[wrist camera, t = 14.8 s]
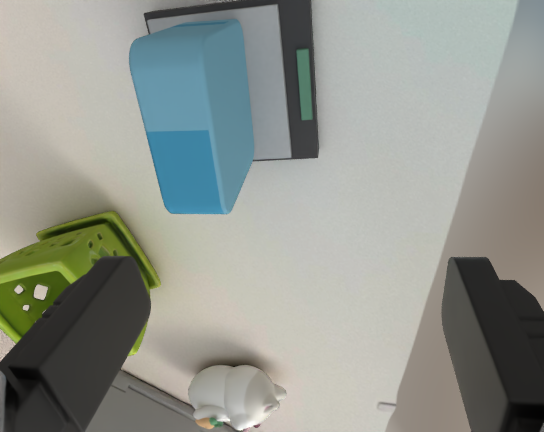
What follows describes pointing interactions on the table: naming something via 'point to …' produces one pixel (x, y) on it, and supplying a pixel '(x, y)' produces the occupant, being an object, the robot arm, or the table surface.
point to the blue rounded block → (196, 112)
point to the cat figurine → (233, 396)
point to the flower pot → (63, 267)
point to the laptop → (144, 410)
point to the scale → (269, 69)
